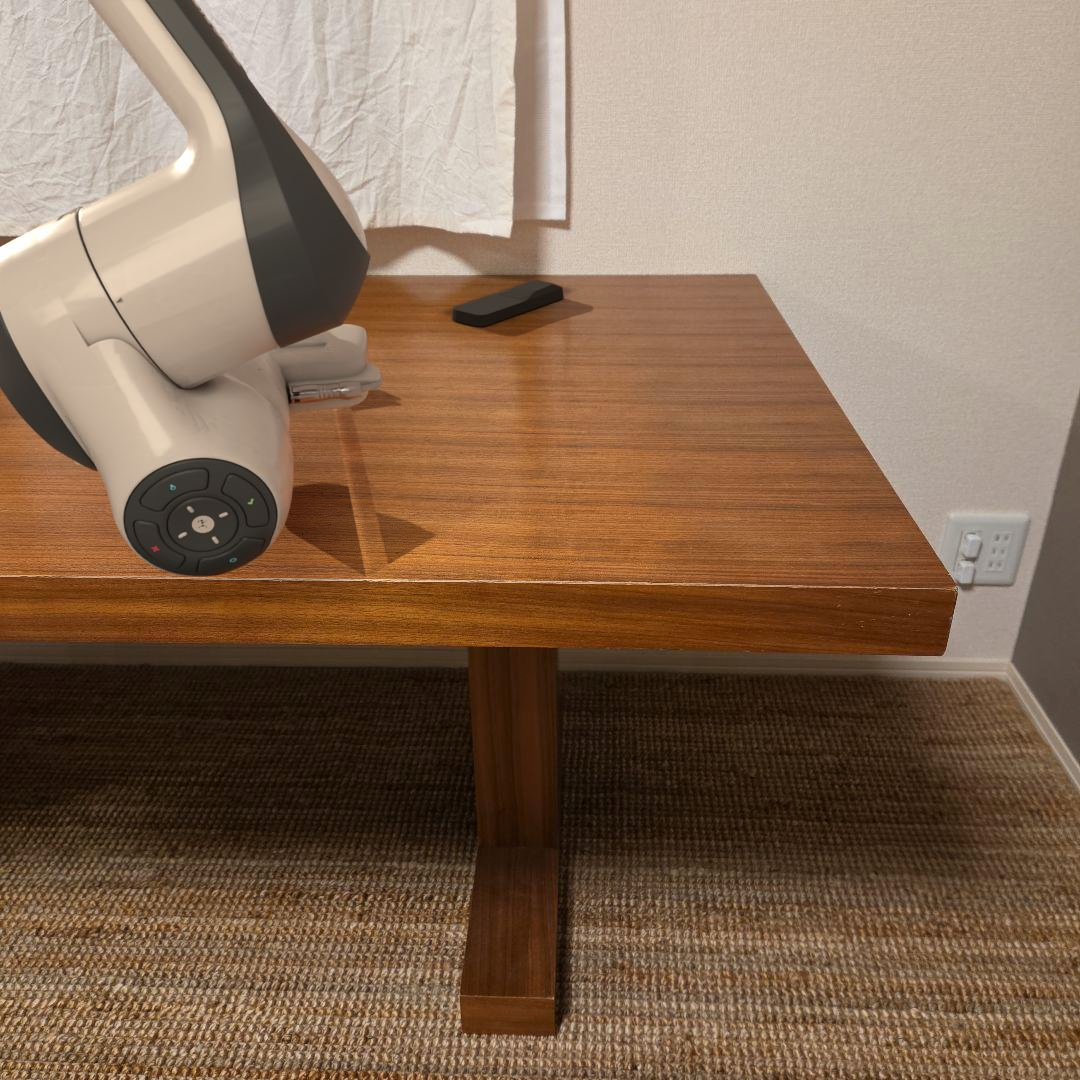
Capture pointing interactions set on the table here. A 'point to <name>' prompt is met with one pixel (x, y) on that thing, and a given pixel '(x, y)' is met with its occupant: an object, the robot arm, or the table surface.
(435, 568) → the table surface
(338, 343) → the robot arm
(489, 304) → the remote control
